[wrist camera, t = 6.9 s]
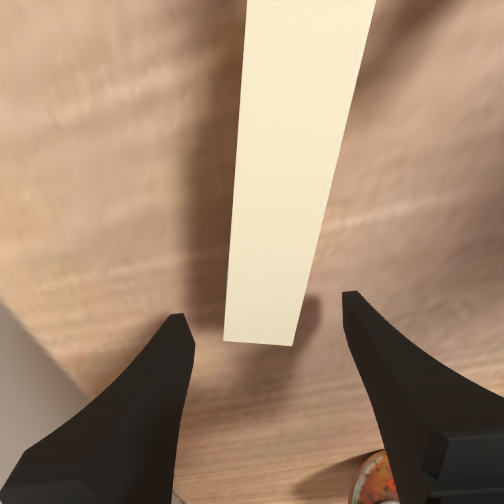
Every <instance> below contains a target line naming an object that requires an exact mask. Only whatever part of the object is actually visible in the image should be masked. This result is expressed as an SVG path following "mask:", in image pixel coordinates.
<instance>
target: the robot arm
mask: <svg viewBox="0 0 504 504" xmlns="http://www.w3.org/2000/svg"><path fill="white" fill-rule="evenodd" d="M342 306H343V328H344V331H345V335H346V339H347V342H348V346H349V349H350V351H351V354H352V356H353V359H354V361H355V364H356V366H357V369H358V371H359V374H360V376H361V378H362V381H363V383H364V386H365V388H366V391H367V393H368V396H369V398H370V401H371V404H372V407H373V410H374V413H375V417H376V420H377V423H378V427H379V430H380V433H381V437H382V440H383V444H384V447H385V451H386V454H387V458H388V461H389V465H390V469H391V472H392V476H393V479H394V483H395V487H396V490H397V494H398V498H399V502H400V504H504V398H503V397H501V396H499V395H497V394H495V393H493V392H491V391H489V390H487V389H485V388H483V387H481V386H480V385H478V384H476V383H474V382H472V381H470V380H468V379H467V378H465V377H463V376H461V375H460V374H458V373H457V372H455V371H453V370H452V369H450V368H448V367H447V366H445V365H443V364H442V363H440V362H439V361H437V360H436V359H434V358H433V357H431V356H430V355H428V354H427V353H426V352H424V351H423V350H421V349H420V348H419V347H417V346H416V345H415V344H413V343H412V342H411V341H410V340H408V339H407V338H406V337H405V336H404V335H402V334H401V333H400V332H399V331H398V330H396V329H395V328H394V327H393V326H392V325H391V324H390V323H389V322H388V321H386V320H385V319H384V318H383V317H382V316H381V315H380V314H379V313H378V312H377V311H376V310H375V309H374V308H373V307H372V306H371V305H370V304H369V303H368V302H367V301H366V300H365V299H364V297H363V296H362V295H361V294H360V293H359V292H358V291H349V292H342ZM194 354H195V341H194V339H193V336H192V334H191V331H190V329H189V326H188V324H187V321H186V319H185V316H184V314H183V313H179V314H172V315H170V316H169V317H168V318H167V320H166V321H165V322H164V324H163V325H162V326H161V327H160V329H159V330H158V331H157V333H156V334H155V335H154V336H153V338H152V339H151V340H150V341H149V343H148V344H147V345H146V346H145V348H144V349H143V350H142V351H141V352H140V354H139V355H138V356H137V357H136V358H135V359H134V360H133V362H132V363H131V364H130V365H129V366H128V367H127V368H126V369H125V371H124V372H123V373H122V374H121V375H120V376H119V377H118V378H117V379H116V380H115V381H114V382H113V383H112V384H111V385H110V386H109V387H108V388H106V389H105V390H104V391H103V392H102V393H101V394H100V395H99V396H97V397H96V398H95V399H94V400H93V401H92V402H91V403H89V404H88V405H87V406H86V407H85V408H84V409H82V410H81V411H80V412H79V413H77V414H76V415H75V416H74V417H72V418H71V419H70V420H68V421H67V422H66V423H65V424H63V425H62V426H60V427H59V428H58V429H56V430H55V431H54V432H52V433H51V434H49V435H48V436H46V437H45V438H43V439H42V440H40V441H39V442H38V443H36V444H35V445H33V446H32V447H30V448H29V449H27V450H26V451H25V452H24V453H23V455H22V456H21V458H20V460H19V461H18V463H17V465H16V466H15V468H14V469H13V471H12V473H11V474H10V476H9V478H8V479H7V481H6V483H5V484H4V486H3V487H2V489H1V491H0V500H1V502H2V504H171V499H172V488H173V477H174V467H175V458H176V450H177V442H178V434H179V427H180V421H181V416H182V411H183V407H184V403H185V398H186V394H187V390H188V386H189V382H190V377H191V373H192V368H193V363H194Z"/></svg>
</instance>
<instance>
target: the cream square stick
mask: <svg viewBox="0 0 504 504" xmlns="http://www.w3.org/2000/svg"><path fill="white" fill-rule="evenodd" d="M375 3H376V0H247V12H246V26H245V41H244V55H243V69H242V83H241V97H240V111H239V125H238V139H237V154H236V168H235V182H234V196H233V210H232V224H231V238H230V253H229V261H228V268H227V278H226V287H227V295H226V309H225V323H224V337H223V341H232V342H245V343H258V344H272V345H285V346H292V344H293V340H294V336H295V332H296V327H297V323H298V319H299V315H300V311H301V307H302V303H303V299H304V295H305V290H306V286H307V282H308V278H309V274H310V270H311V266H312V262H313V258H314V253H315V249H316V245H317V241H318V237H319V233H320V229H321V225H322V221H323V216H324V212H325V208H326V204H327V200H328V196H329V192H330V188H331V184H332V179H333V175H334V171H335V167H336V163H337V159H338V155H339V151H340V147H341V142H342V138H343V134H344V130H345V126H346V122H347V118H348V114H349V110H350V105H351V101H352V97H353V93H354V89H355V85H356V81H357V77H358V73H359V68H360V64H361V60H362V56H363V52H364V48H365V44H366V40H367V36H368V31H369V27H370V23H371V19H372V15H373V11H374V7H375Z"/></svg>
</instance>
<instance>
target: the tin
mask: <svg viewBox="0 0 504 504" xmlns="http://www.w3.org/2000/svg"><path fill="white" fill-rule="evenodd" d="M348 504H400V502H399V498H398V494H397V490H396V487H395V483H394V479H393V476H392V472H391V469H390V465H389V461H388V458H387V454H386V451H385V450H382V451H379V452H377V453H375V454H373V455H371V456H370V457H369V458H368V459H366V460H365V461H364V462H363V464H362V465H361V466H360V467H359V469H358V470H357V472H356V474H355V476H354V478H353V481H352V484H351V488H350V492H349V501H348Z"/></svg>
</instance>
